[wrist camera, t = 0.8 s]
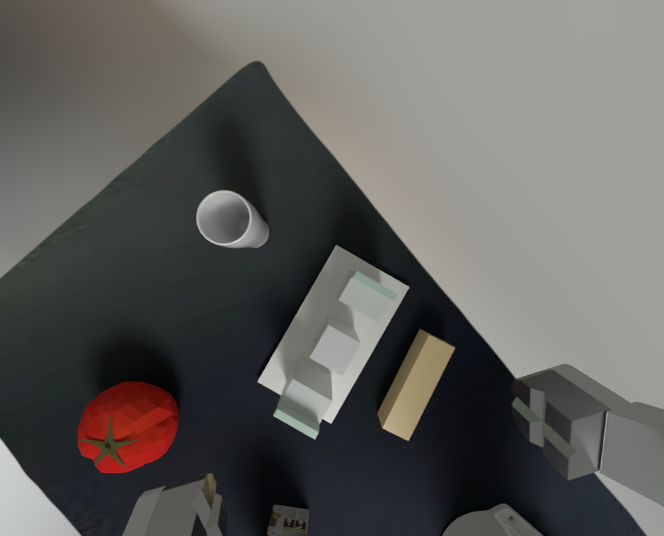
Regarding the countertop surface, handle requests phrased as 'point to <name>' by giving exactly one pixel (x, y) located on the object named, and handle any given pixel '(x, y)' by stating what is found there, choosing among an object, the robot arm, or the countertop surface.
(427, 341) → the tan wooden plank
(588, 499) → the countertop surface
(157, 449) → the tomato
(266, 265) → the countertop surface
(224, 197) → the drinking glass
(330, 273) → the display stand
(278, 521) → the coffee box
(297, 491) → the countertop surface
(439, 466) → the countertop surface
